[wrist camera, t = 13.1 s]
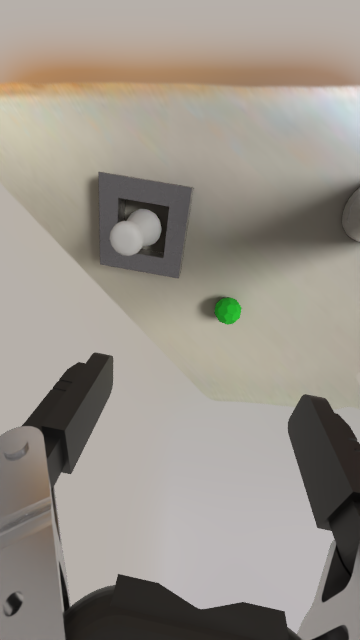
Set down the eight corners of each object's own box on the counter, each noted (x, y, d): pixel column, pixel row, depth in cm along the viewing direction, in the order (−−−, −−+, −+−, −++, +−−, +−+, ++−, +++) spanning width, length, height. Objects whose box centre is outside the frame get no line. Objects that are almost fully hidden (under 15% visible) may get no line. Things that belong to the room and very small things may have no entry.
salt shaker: (124, 221, 42) (92, 233, 31) (149, 200, 40) (125, 205, 29) (145, 249, 44) (122, 271, 33) (170, 230, 42) (155, 246, 30)
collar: (193, 187, 38) (192, 187, 35) (180, 272, 45) (178, 278, 42) (107, 173, 39) (98, 171, 36) (107, 259, 45) (100, 264, 42)
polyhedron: (238, 291, 46) (240, 301, 42) (241, 314, 48) (244, 326, 44) (211, 296, 47) (212, 307, 43) (216, 318, 49) (217, 330, 45)
